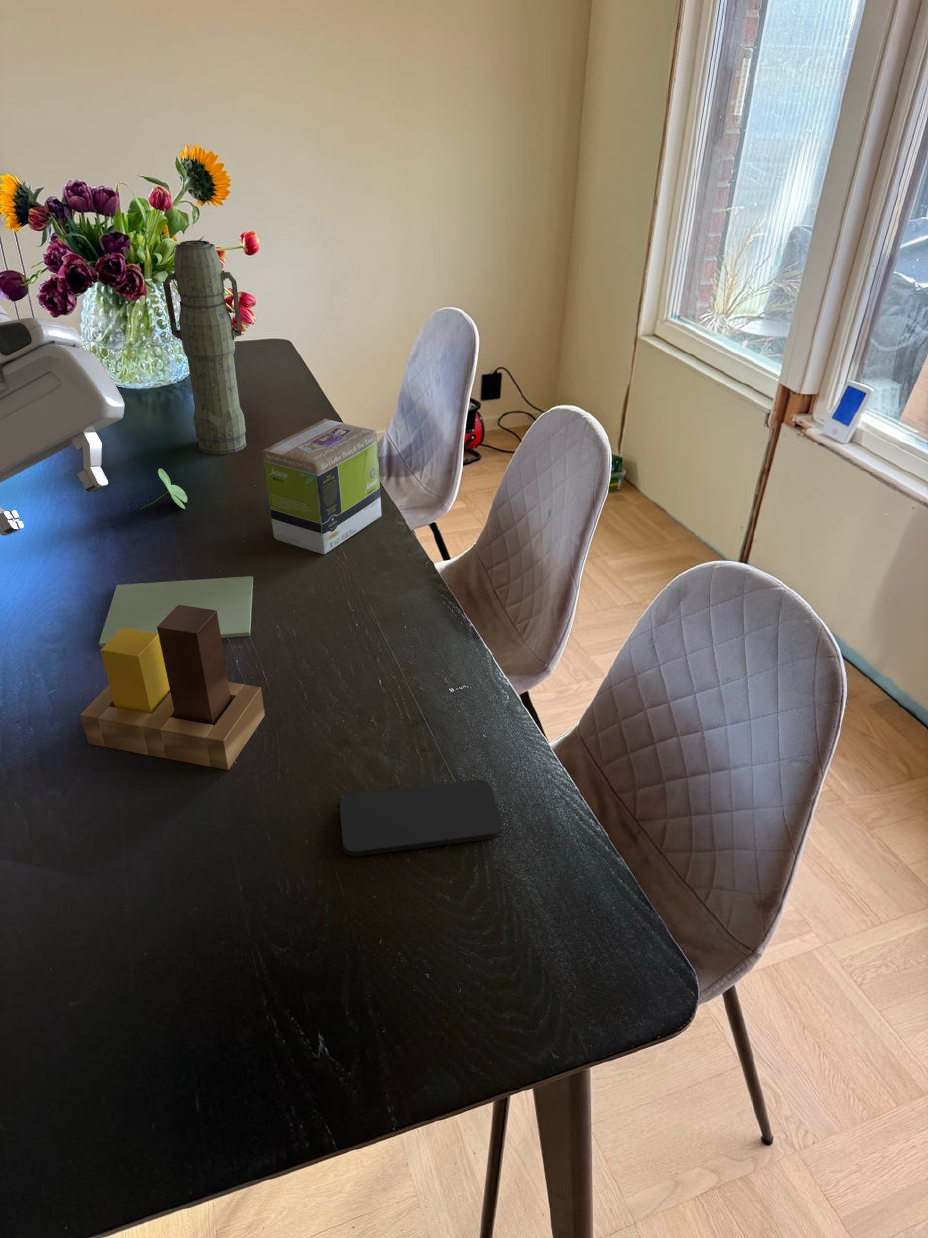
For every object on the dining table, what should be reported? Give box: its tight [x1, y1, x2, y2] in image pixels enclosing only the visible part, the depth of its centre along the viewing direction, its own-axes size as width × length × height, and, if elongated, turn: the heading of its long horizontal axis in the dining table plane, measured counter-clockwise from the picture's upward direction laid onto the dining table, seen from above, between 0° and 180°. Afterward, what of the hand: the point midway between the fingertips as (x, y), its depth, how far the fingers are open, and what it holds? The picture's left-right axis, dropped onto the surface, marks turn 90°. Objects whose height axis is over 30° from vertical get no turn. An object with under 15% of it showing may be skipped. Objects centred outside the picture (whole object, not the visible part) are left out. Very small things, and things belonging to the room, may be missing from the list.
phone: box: [339, 779, 503, 857], centre depth 82 cm, size 7×1×15 cm
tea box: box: [262, 418, 382, 555], centre depth 128 cm, size 15×10×15 cm, turn 150°
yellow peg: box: [100, 628, 170, 714], centre depth 90 cm, size 4×4×11 cm
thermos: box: [162, 239, 247, 456], centre depth 149 cm, size 9×12×35 cm
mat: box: [98, 575, 254, 648], centre depth 112 cm, size 18×14×1 cm
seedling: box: [140, 468, 188, 510], centre depth 136 cm, size 7×8×7 cm
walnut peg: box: [157, 605, 231, 725], centre depth 88 cm, size 4×4×15 cm
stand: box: [79, 681, 266, 771], centre depth 91 cm, size 16×9×4 cm, turn 77°
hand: (55, 510), depth 77 cm, fingers open, 8 cm apart
